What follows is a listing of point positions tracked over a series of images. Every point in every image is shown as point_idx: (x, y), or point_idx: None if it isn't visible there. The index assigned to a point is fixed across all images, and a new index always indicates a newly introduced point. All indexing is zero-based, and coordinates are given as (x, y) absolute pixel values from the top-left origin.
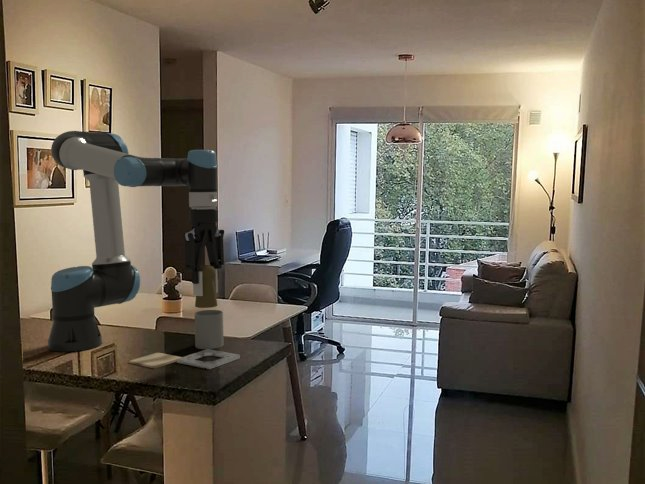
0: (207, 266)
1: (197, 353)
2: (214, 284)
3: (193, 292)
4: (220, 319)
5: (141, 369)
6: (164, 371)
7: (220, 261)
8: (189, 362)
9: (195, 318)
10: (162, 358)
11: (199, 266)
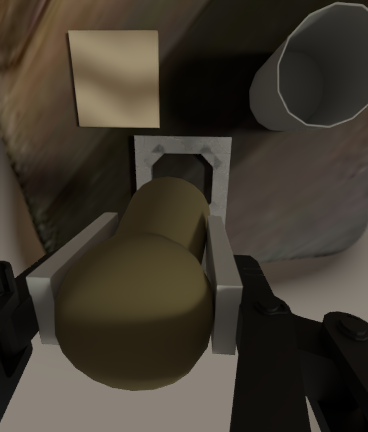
0: (112, 380)
1: (190, 144)
2: (207, 271)
3: (100, 217)
4: (317, 128)
5: (62, 105)
6: (83, 159)
7: (317, 413)
8: (136, 173)
9: (280, 49)
10: (127, 92)
11: (7, 382)
